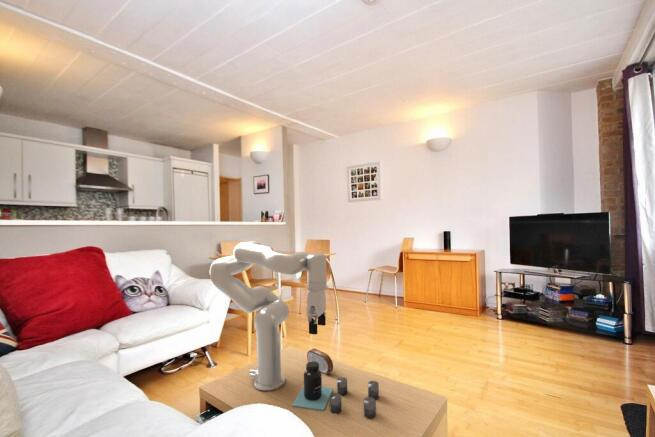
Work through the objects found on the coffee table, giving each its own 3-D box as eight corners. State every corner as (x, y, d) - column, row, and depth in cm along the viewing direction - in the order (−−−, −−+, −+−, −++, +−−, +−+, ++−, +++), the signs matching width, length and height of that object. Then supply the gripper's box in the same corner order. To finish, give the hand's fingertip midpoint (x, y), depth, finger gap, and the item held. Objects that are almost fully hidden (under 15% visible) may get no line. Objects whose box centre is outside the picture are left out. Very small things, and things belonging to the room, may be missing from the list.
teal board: (291, 406, 111) (291, 405, 111) (304, 385, 124) (304, 384, 124) (323, 411, 107) (323, 409, 107) (333, 389, 121) (333, 388, 121)
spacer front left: (329, 413, 106) (328, 398, 106) (331, 406, 110) (331, 392, 110) (340, 414, 105) (340, 400, 105) (342, 407, 109) (342, 393, 109)
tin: (333, 375, 132) (333, 355, 132) (328, 377, 130) (328, 358, 130) (311, 363, 143) (310, 345, 143) (306, 365, 141) (305, 347, 141)
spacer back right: (367, 399, 114) (367, 385, 114) (368, 393, 118) (368, 380, 118) (378, 400, 113) (378, 387, 113) (379, 394, 117) (379, 381, 117)
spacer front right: (363, 418, 103) (363, 403, 103) (365, 410, 107) (364, 396, 107) (375, 419, 102) (375, 404, 102) (376, 412, 106) (376, 398, 106)
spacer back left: (336, 395, 117) (335, 382, 117) (338, 389, 121) (338, 376, 121) (346, 396, 116) (346, 383, 116) (348, 390, 120) (348, 378, 120)
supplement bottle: (319, 402, 112) (319, 369, 112) (301, 400, 113) (301, 367, 113) (323, 391, 119) (323, 360, 119) (306, 389, 120) (306, 359, 120)
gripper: (315, 280, 129) (316, 321, 129) (299, 290, 112) (300, 336, 112) (332, 281, 127) (333, 322, 127) (318, 291, 110) (319, 338, 110)
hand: (317, 329), depth 119 cm, fingers open, 9 cm apart
